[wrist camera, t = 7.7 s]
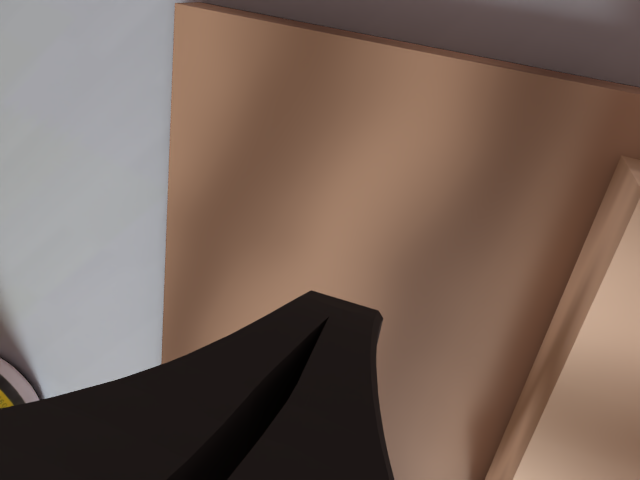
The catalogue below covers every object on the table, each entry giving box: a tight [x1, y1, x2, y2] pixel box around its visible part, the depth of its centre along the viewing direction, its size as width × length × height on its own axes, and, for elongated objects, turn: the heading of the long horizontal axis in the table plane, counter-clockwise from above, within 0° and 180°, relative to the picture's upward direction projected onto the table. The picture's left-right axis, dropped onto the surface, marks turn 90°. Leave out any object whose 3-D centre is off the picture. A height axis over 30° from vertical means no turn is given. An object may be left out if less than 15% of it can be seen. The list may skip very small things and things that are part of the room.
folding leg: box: [485, 155, 640, 480], centre depth 16 cm, size 14×3×4 cm, turn 170°
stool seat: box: [161, 2, 640, 480], centre depth 18 cm, size 19×17×4 cm
